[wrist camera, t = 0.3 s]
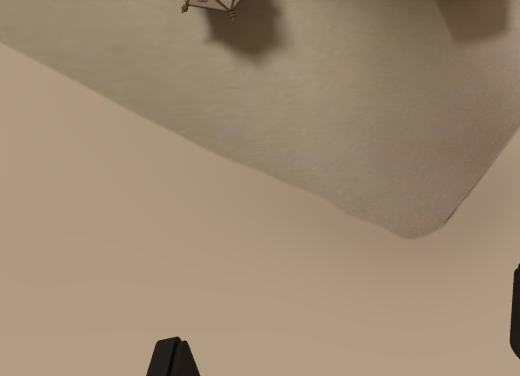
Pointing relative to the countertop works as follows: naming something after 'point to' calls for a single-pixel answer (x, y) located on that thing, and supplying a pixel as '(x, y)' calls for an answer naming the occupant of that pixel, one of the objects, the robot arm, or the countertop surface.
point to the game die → (213, 5)
